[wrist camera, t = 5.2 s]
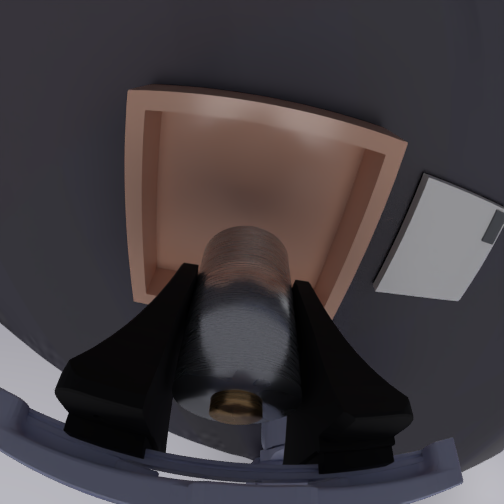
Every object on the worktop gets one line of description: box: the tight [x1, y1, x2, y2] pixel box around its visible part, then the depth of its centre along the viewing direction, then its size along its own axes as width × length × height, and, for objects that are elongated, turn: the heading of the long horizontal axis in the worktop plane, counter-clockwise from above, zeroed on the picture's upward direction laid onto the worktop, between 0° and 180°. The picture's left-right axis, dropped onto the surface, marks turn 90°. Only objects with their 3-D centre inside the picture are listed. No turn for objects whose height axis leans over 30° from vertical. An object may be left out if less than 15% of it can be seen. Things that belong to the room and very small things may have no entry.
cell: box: [172, 226, 302, 425], centre depth 11 cm, size 4×4×8 cm
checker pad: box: [373, 173, 504, 301], centre depth 20 cm, size 10×10×1 cm
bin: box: [125, 84, 408, 319], centre depth 18 cm, size 14×14×4 cm
